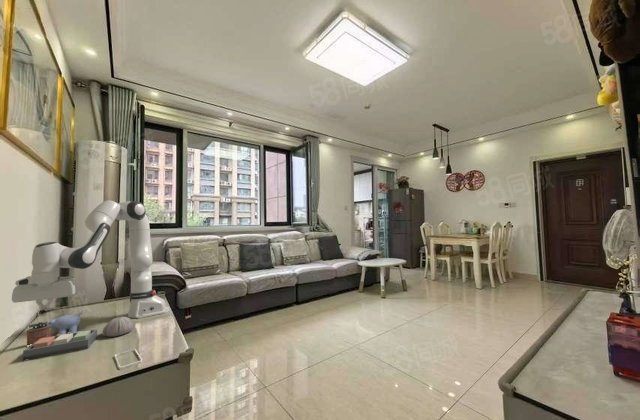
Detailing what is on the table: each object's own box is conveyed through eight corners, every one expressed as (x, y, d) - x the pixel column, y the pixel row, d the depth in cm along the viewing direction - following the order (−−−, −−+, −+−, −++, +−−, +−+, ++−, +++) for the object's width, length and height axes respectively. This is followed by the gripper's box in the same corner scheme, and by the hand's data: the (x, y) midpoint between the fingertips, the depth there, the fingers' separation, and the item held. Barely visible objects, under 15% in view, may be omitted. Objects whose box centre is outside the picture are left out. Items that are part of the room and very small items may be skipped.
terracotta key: (54, 340, 122) (54, 336, 122) (47, 346, 116) (47, 341, 116) (41, 342, 120) (41, 338, 120) (33, 349, 114) (33, 344, 114)
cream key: (73, 337, 125) (73, 333, 125) (67, 343, 119) (67, 338, 119) (60, 339, 123) (60, 335, 123) (53, 345, 117) (53, 340, 117)
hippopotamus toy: (46, 332, 140) (46, 314, 141) (84, 325, 149) (84, 308, 150) (41, 339, 132) (41, 320, 132) (81, 331, 140) (81, 313, 141)
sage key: (90, 334, 128) (90, 330, 128) (85, 339, 122) (85, 335, 122) (78, 336, 126) (78, 332, 126) (72, 342, 120) (72, 337, 120)
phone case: (142, 363, 105) (135, 351, 116) (142, 360, 105) (135, 348, 116) (119, 371, 100) (114, 357, 111) (119, 367, 100) (114, 354, 111)
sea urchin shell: (117, 339, 129) (117, 322, 129) (94, 338, 131) (95, 321, 132) (140, 328, 142) (140, 313, 142) (120, 327, 144) (120, 312, 145)
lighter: (50, 339, 131) (50, 319, 131) (51, 341, 129) (51, 320, 129) (26, 345, 125) (26, 324, 125) (26, 347, 122) (27, 325, 123)
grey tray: (97, 337, 132) (97, 328, 132) (87, 348, 119) (88, 338, 120) (39, 347, 122) (39, 337, 123) (23, 360, 110) (23, 350, 110)
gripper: (78, 274, 127) (77, 303, 126) (18, 279, 118) (17, 311, 117) (73, 276, 122) (72, 307, 121) (10, 282, 112) (8, 315, 112)
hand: (44, 309), depth 119 cm, fingers closed
